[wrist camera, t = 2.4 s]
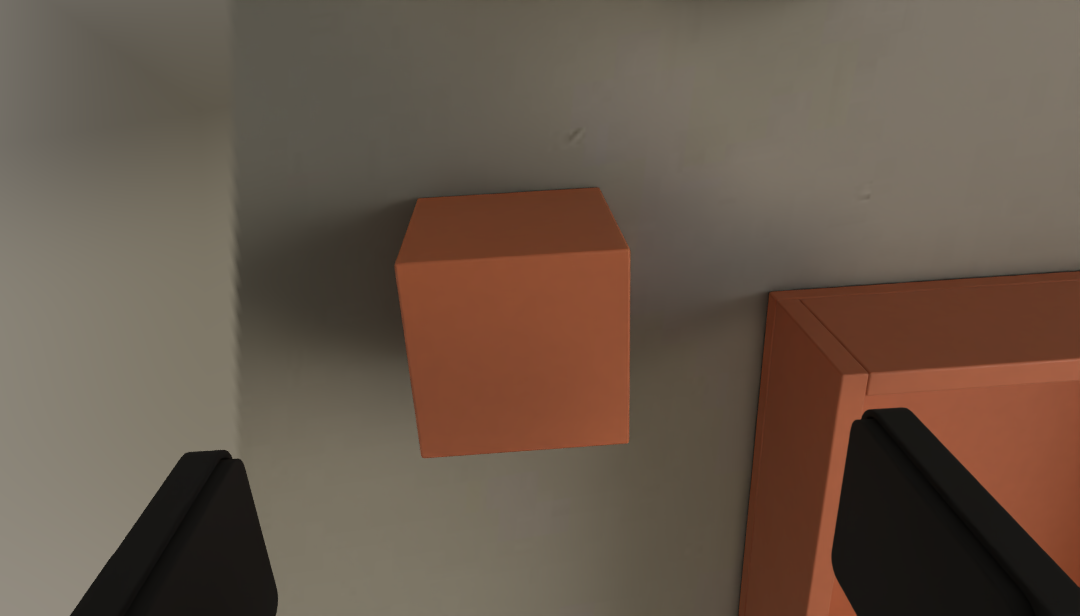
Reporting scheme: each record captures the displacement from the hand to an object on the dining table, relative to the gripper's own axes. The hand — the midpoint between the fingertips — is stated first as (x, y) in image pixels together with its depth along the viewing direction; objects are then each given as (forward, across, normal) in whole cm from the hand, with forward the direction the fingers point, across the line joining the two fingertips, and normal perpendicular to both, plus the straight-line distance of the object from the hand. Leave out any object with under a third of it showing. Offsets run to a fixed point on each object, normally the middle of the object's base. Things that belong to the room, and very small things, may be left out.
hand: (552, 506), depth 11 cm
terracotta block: (+9, 0, 0) cm, 9 cm away
